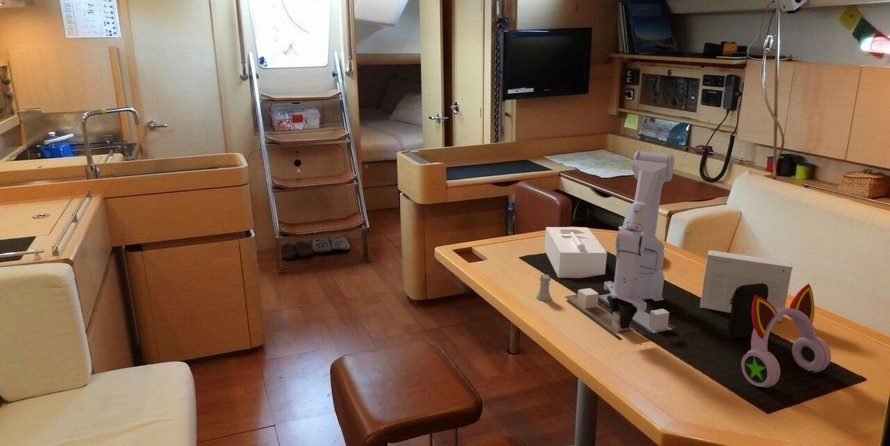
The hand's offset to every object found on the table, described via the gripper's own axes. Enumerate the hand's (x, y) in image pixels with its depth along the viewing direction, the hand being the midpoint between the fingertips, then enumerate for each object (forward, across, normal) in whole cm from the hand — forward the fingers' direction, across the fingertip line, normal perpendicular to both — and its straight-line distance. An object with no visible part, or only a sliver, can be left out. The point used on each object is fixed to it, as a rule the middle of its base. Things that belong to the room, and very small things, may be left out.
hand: (621, 325), depth 163 cm
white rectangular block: (+3, -46, +16) cm, 49 cm away
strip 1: (+2, -10, 0) cm, 10 cm away
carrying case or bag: (+2, +13, +28) cm, 31 cm away
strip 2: (+2, -7, +10) cm, 12 cm away
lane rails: (+2, -7, +4) cm, 9 cm away
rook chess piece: (+2, -23, -9) cm, 25 cm away
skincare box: (+2, +1, +40) cm, 40 cm away
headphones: (+2, +30, +22) cm, 37 cm away
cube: (+1, -15, 0) cm, 15 cm away
